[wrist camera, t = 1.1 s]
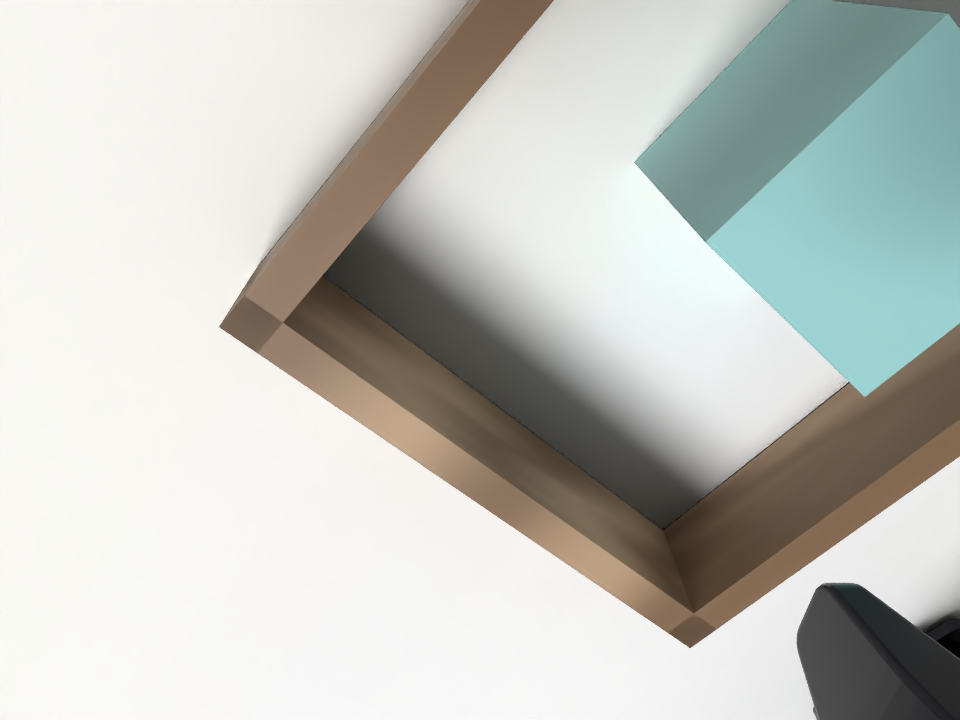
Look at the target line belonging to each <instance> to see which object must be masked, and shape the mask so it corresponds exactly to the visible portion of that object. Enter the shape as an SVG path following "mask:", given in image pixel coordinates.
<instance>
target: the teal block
mask: <svg viewBox="0 0 960 720" xmlns="http://www.w3.org/2000/svg"><path fill="white" fill-rule="evenodd" d="M634 163H635V164H636V165H637V166H638V167H639V168H640V169H641V171H642V172H643V173H644V174H645V175H646V176H647V177H648V178H649V180H650V181H651V182H652V183H653V184H654V185H655V186H656V187H657V189H658V190H659V191H660V192H661V193H662V194H663V195H664V196H665V197H666V199H667V200H668V201H669V202H670V203H671V204H672V205H673V206H674V208H675V209H676V210H677V211H678V212H679V213H680V214H681V215H682V217H683V218H684V219H685V220H686V221H687V222H688V223H689V224H690V225H691V227H692V228H693V229H694V230H695V231H696V232H697V233H698V234H699V236H700V237H701V238H702V239H703V240H704V241H705V242H706V243H707V244H708V245H709V246H710V247H711V248H712V249H713V250H714V251H715V252H716V253H717V254H718V255H719V256H720V257H721V258H722V259H723V260H724V261H725V262H726V263H727V264H728V265H729V266H730V267H731V268H732V269H734V270H735V271H736V272H737V273H738V274H739V275H740V276H741V277H742V278H743V279H744V280H745V281H746V282H747V283H748V284H749V285H750V286H751V287H752V288H753V289H754V290H755V291H756V292H757V293H758V294H759V295H760V296H761V297H762V298H763V299H764V300H765V301H766V302H767V303H768V304H770V305H771V306H772V307H773V308H774V309H775V310H776V311H777V312H778V313H779V314H780V315H781V316H782V317H783V318H784V319H785V320H786V321H787V322H788V323H789V324H790V325H791V326H792V327H793V328H794V329H795V330H796V331H797V332H798V333H799V334H800V335H801V336H802V337H803V338H804V339H806V340H807V341H808V342H809V343H810V344H811V345H812V346H813V347H814V348H815V349H816V350H817V351H818V352H819V353H820V354H821V355H822V356H823V357H824V358H825V359H826V360H827V361H828V362H829V363H830V364H831V365H832V366H833V367H834V368H835V369H836V370H837V371H838V372H839V373H841V374H842V375H843V376H844V377H845V378H846V379H847V380H848V381H849V382H850V383H851V384H852V385H853V386H854V387H855V388H856V389H857V390H858V391H859V392H860V393H861V394H862V395H863V396H864V397H865V396H867V395H868V394H869V393H871V392H872V391H873V390H874V389H876V388H877V387H878V386H880V385H881V384H882V383H883V382H885V381H886V380H887V379H889V378H890V377H891V376H892V375H894V374H895V373H896V372H898V371H899V370H900V369H901V368H903V367H904V366H905V365H907V364H908V363H909V362H910V361H912V360H913V359H914V358H916V357H917V356H918V355H919V354H921V353H922V352H923V351H925V350H926V349H927V348H928V347H930V346H931V345H932V344H934V343H935V342H936V341H937V340H939V339H940V338H941V337H943V336H944V335H945V334H946V333H948V332H949V331H950V330H952V329H953V328H954V327H955V326H957V325H958V324H959V323H960V28H959V27H958V26H957V24H956V23H955V21H954V20H953V19H952V17H951V16H950V15H949V13H942V12H933V11H924V10H915V9H906V8H897V7H888V6H879V5H869V4H860V3H851V2H842V1H833V0H791V1H790V2H789V3H788V4H787V6H786V7H785V8H784V9H783V10H782V11H781V12H780V13H779V14H778V15H777V16H776V17H775V18H774V19H773V20H772V21H771V22H770V23H769V24H768V25H767V26H766V27H765V28H764V29H763V30H762V31H761V32H760V33H759V34H758V35H757V36H756V38H755V39H754V40H753V41H752V42H751V43H750V44H749V45H748V46H747V47H746V48H745V49H744V50H743V51H742V52H741V53H740V54H739V55H738V56H737V57H736V58H735V59H734V60H733V61H732V62H731V63H730V64H729V65H728V66H727V67H726V68H725V69H724V71H723V72H722V73H721V74H720V75H719V76H718V77H717V78H716V79H715V80H714V81H713V82H712V83H711V84H710V85H709V86H708V87H707V88H706V89H705V90H704V91H703V92H702V93H701V94H700V95H699V96H698V97H697V98H696V99H695V100H694V101H693V103H692V104H691V105H690V106H689V107H688V108H687V109H686V110H685V111H684V112H683V113H682V114H681V115H680V116H679V117H678V118H677V119H676V120H675V121H674V122H673V123H672V124H671V125H670V126H669V127H668V128H667V129H666V130H665V131H664V132H663V133H662V135H661V136H660V137H659V138H658V139H657V140H656V141H655V142H654V143H653V144H652V145H651V146H650V147H649V148H648V149H647V150H646V151H645V152H644V153H643V154H642V155H641V156H640V157H639V158H638V159H637V160H636V161H635V162H634Z"/></svg>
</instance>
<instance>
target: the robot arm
mask: <svg viewBox="0 0 960 720" xmlns="http://www.w3.org/2000/svg"><path fill="white" fill-rule="evenodd" d="M797 649H798V654H799V657H800V660H801V664H802V667H803V670H804V674H805V677H806V680H807V683H808V687H809V690H810V693H811V697H812V700H813V703H814V708H813V712H814V714H815V716H816V718H817V720H960V619H952V620H949V621H947V622H945V623H943V624H941V625H940V626H938V627H937V628H935V629H934V630H932V631H930V632H929V633H927V634H925V633H924V632H923V631H921V630H920V629H919V628H917V627H916V626H915V625H913V624H912V623H911V622H909V621H908V620H907V619H905V618H904V617H903V616H901V615H900V614H899V613H897V612H896V611H895V610H893V609H892V608H891V607H889V606H888V605H887V604H885V603H884V602H883V601H881V600H880V599H879V598H877V597H876V596H874V595H873V594H872V593H870V592H869V591H868V590H866V589H865V588H863V587H862V586H860V585H858V584H854V583H824V584H822V585H820V586H819V587H818V588H817V589H816V591H815V593H814V595H813V597H812V599H811V602H810V604H809V606H808V608H807V611H806V613H805V615H804V617H803V620H802V622H801V624H800V626H799V629H798V633H797Z"/></svg>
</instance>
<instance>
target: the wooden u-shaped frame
mask: <svg viewBox="0 0 960 720" xmlns="http://www.w3.org/2000/svg"><path fill="white" fill-rule="evenodd" d="M553 1H554V0H469V2H468V3H467V4H466V5H465V7H464V8H463V9H462V10H461V12H460V13H459V14H458V15H457V17H456V18H455V19H454V20H453V22H452V23H451V24H450V25H449V27H448V28H447V29H446V31H445V32H444V33H443V34H442V36H441V37H440V38H439V39H438V41H437V42H436V43H435V44H434V46H433V47H432V48H431V49H430V51H429V52H428V53H427V54H426V56H425V57H424V58H423V59H422V61H421V62H420V63H419V64H418V66H417V67H416V68H415V69H414V71H413V72H412V73H411V75H410V76H409V77H408V78H407V80H406V81H405V82H404V83H403V85H402V86H401V87H400V88H399V90H398V91H397V92H396V93H395V95H394V96H393V97H392V98H391V100H390V101H389V102H388V103H387V105H386V106H385V107H384V108H383V110H382V111H381V112H380V114H379V115H378V116H377V117H376V119H375V120H374V121H373V122H372V124H371V125H370V126H369V127H368V129H367V130H366V131H365V132H364V134H363V135H362V136H361V137H360V139H359V140H358V141H357V142H356V144H355V145H354V146H353V147H352V149H351V150H350V151H349V153H348V154H347V155H346V156H345V158H344V159H343V160H342V161H341V163H340V164H339V165H338V166H337V168H336V169H335V170H334V171H333V173H332V174H331V175H330V176H329V178H328V179H327V180H326V181H325V183H324V184H323V185H322V186H321V188H320V189H319V190H318V192H317V193H316V194H315V195H314V197H313V198H312V199H311V200H310V202H309V203H308V204H307V205H306V207H305V208H304V209H303V210H302V212H301V213H300V214H299V215H298V217H297V218H296V219H295V220H294V222H293V223H292V224H291V225H290V227H289V228H288V229H287V231H286V232H285V233H284V234H283V236H282V237H281V238H280V239H279V241H278V242H277V243H276V244H275V246H274V247H273V248H272V249H271V251H270V252H269V253H268V254H267V256H266V257H265V258H264V259H263V261H262V262H261V263H260V264H259V266H258V267H257V268H256V270H255V271H254V273H253V274H252V276H251V277H250V279H249V281H248V282H247V284H246V285H245V287H244V288H243V290H242V292H241V293H240V295H239V296H238V298H237V300H236V301H235V303H234V304H233V306H232V307H231V309H230V311H229V312H228V314H227V315H226V317H225V318H224V320H223V322H222V323H221V325H220V326H219V327H220V328H222V329H223V330H224V331H226V332H227V333H229V334H230V335H232V336H233V337H235V338H236V339H238V340H239V341H241V342H242V343H244V344H245V345H246V346H248V347H249V348H251V349H252V350H254V351H255V352H257V353H258V354H260V355H261V356H263V357H264V358H266V359H267V360H268V361H270V362H271V363H273V364H274V365H276V366H277V367H279V368H280V369H282V370H283V371H285V372H286V373H288V374H289V375H290V376H292V377H293V378H295V379H296V380H298V381H299V382H301V383H302V384H304V385H305V386H307V387H308V388H310V389H311V390H312V391H314V392H315V393H317V394H318V395H320V396H321V397H323V398H324V399H326V400H327V401H329V402H330V403H332V404H333V405H334V406H336V407H337V408H339V409H340V410H342V411H343V412H345V413H346V414H348V415H349V416H351V417H352V418H354V419H355V420H356V421H358V422H359V423H361V424H362V425H364V426H365V427H367V428H368V429H370V430H371V431H373V432H374V433H376V434H377V435H378V436H380V437H381V438H383V439H384V440H386V441H387V442H389V443H390V444H392V445H393V446H395V447H396V448H398V449H399V450H400V451H402V452H403V453H405V454H406V455H408V456H409V457H411V458H412V459H414V460H415V461H417V462H418V463H420V464H421V465H422V466H424V467H425V468H427V469H428V470H430V471H431V472H433V473H434V474H436V475H437V476H439V477H440V478H442V479H443V480H445V481H446V482H447V483H449V484H450V485H452V486H453V487H455V488H456V489H458V490H459V491H461V492H462V493H464V494H465V495H467V496H468V497H469V498H471V499H472V500H474V501H475V502H477V503H478V504H480V505H481V506H483V507H484V508H486V509H487V510H489V511H490V512H491V513H493V514H494V515H496V516H497V517H499V518H500V519H502V520H503V521H505V522H506V523H508V524H509V525H511V526H512V527H513V528H515V529H516V530H518V531H519V532H521V533H522V534H524V535H525V536H527V537H528V538H530V539H531V540H533V541H534V542H535V543H537V544H538V545H540V546H541V547H543V548H544V549H546V550H547V551H549V552H550V553H552V554H553V555H555V556H556V557H557V558H559V559H560V560H562V561H563V562H565V563H566V564H568V565H569V566H571V567H572V568H574V569H575V570H577V571H578V572H579V573H581V574H582V575H584V576H585V577H587V578H588V579H590V580H591V581H593V582H594V583H596V584H597V585H599V586H600V587H601V588H603V589H604V590H606V591H607V592H609V593H610V594H612V595H613V596H615V597H616V598H618V599H619V600H621V601H622V602H623V603H625V604H626V605H628V606H629V607H631V608H632V609H634V610H635V611H637V612H638V613H640V614H641V615H643V616H644V617H645V618H647V619H648V620H650V621H651V622H653V623H654V624H656V625H657V626H659V627H660V628H662V629H663V630H665V631H666V632H667V633H669V634H670V635H672V636H673V637H675V638H676V639H678V640H679V641H681V642H682V643H684V644H685V645H687V646H688V647H689V648H691V647H692V646H694V645H695V644H697V643H698V642H699V641H701V640H702V639H704V638H705V637H706V636H708V635H709V634H711V633H712V632H713V631H715V630H716V629H718V628H719V627H720V626H722V625H723V624H725V623H726V622H727V621H729V620H730V619H732V618H733V617H735V616H736V615H737V614H739V613H740V612H742V611H743V610H744V609H746V608H747V607H749V606H750V605H751V604H753V603H754V602H756V601H757V600H758V599H760V598H761V597H763V596H764V595H765V594H767V593H768V592H770V591H771V590H772V589H774V588H775V587H777V586H778V585H779V584H781V583H782V582H784V581H785V580H787V579H788V578H789V577H791V576H792V575H794V574H795V573H796V572H798V571H799V570H801V569H802V568H803V567H805V566H806V565H808V564H809V563H810V562H812V561H813V560H815V559H816V558H817V557H819V556H820V555H822V554H823V553H824V552H826V551H827V550H829V549H830V548H831V547H833V546H834V545H836V544H837V543H839V542H840V541H841V540H843V539H844V538H846V537H847V536H848V535H850V534H851V533H853V532H854V531H855V530H857V529H858V528H860V527H861V526H862V525H864V524H865V523H867V522H868V521H869V520H871V519H872V518H874V517H875V516H876V515H878V514H879V513H881V512H882V511H883V510H885V509H886V508H888V507H889V506H890V505H892V504H893V503H895V502H896V501H898V500H899V499H900V498H902V497H903V496H905V495H906V494H907V493H909V492H910V491H912V490H913V489H914V488H916V487H917V486H919V485H920V484H921V483H923V482H924V481H926V480H927V479H928V478H930V477H931V476H933V475H934V474H935V473H937V472H938V471H940V470H941V469H942V468H944V467H945V466H947V465H948V464H950V463H951V462H952V461H954V460H955V459H957V458H958V457H959V456H960V323H959V324H958V325H957V326H955V327H954V328H953V329H952V330H950V331H949V332H948V333H946V334H945V335H944V336H943V337H941V338H940V339H939V340H937V341H936V342H935V343H934V344H932V345H931V346H930V347H928V348H927V349H926V350H925V351H923V352H922V353H921V354H919V355H918V356H917V357H916V358H914V359H913V360H912V361H910V362H909V363H908V364H907V365H905V366H904V367H903V368H901V369H900V370H899V371H898V372H896V373H895V374H894V375H892V376H891V377H890V378H889V379H887V380H886V381H885V382H883V383H882V384H881V385H880V386H878V387H877V388H876V389H874V390H873V391H872V392H871V393H869V394H868V395H867V396H865V397H864V396H863V395H862V394H861V393H860V392H859V391H858V390H857V389H856V388H855V387H854V386H853V385H852V384H851V383H849V384H847V385H846V386H845V387H844V388H842V389H841V390H840V391H839V392H837V393H836V394H835V395H834V396H832V397H831V398H830V399H828V400H827V401H826V402H825V403H823V404H822V405H821V406H820V407H818V408H817V409H816V410H815V411H813V412H812V413H811V414H810V415H808V416H807V417H806V418H805V419H803V420H802V421H801V422H799V423H798V424H797V425H796V426H794V427H793V428H792V429H791V430H789V431H788V432H787V433H786V434H784V435H783V436H782V437H781V438H779V439H778V440H777V441H776V442H774V443H773V444H772V445H770V446H769V447H768V448H767V449H765V450H764V451H763V452H762V453H760V454H759V455H758V456H757V457H755V458H754V459H753V460H752V461H750V462H749V463H748V464H747V465H745V466H744V467H743V468H742V469H740V470H739V471H738V472H736V473H735V474H734V475H733V476H731V477H730V478H729V479H728V480H726V481H725V482H724V483H723V484H721V485H720V486H719V487H718V488H716V489H715V490H714V491H713V492H711V493H710V494H709V495H707V496H706V497H705V498H704V499H702V500H701V501H700V502H699V503H697V504H696V505H695V506H694V507H692V508H691V509H690V510H689V511H687V512H686V513H685V514H684V515H682V516H681V517H680V518H679V519H677V520H676V521H675V522H673V523H672V524H671V525H670V526H668V527H667V528H666V529H665V530H662V529H661V528H659V527H658V526H657V525H655V524H654V523H653V522H651V521H650V520H649V519H647V518H646V517H645V516H643V515H642V514H641V513H639V512H638V511H637V510H635V509H634V508H633V507H631V506H630V505H629V504H627V503H626V502H625V501H623V500H622V499H621V498H619V497H618V496H617V495H615V494H614V493H613V492H611V491H610V490H609V489H607V488H606V487H605V486H603V485H602V484H601V483H599V482H598V481H597V480H595V479H594V478H593V477H591V476H590V475H589V474H587V473H586V472H585V471H583V470H582V469H581V468H579V467H578V466H577V465H575V464H574V463H573V462H571V461H570V460H568V459H567V458H566V457H564V456H563V455H562V454H560V453H559V452H558V451H556V450H555V449H554V448H552V447H551V446H550V445H548V444H547V443H546V442H544V441H543V440H542V439H540V438H539V437H538V436H536V435H535V434H534V433H532V432H531V431H530V430H528V429H527V428H526V427H524V426H523V425H522V424H520V423H519V422H518V421H516V420H515V419H514V418H512V417H511V416H510V415H508V414H507V413H506V412H504V411H503V410H502V409H500V408H499V407H498V406H496V405H495V404H494V403H492V402H491V401H490V400H488V399H487V398H486V397H484V396H483V395H482V394H480V393H479V392H478V391H476V390H475V389H474V388H472V387H471V386H470V385H468V384H467V383H466V382H464V381H463V380H462V379H460V378H459V377H458V376H456V375H455V374H454V373H452V372H451V371H450V370H448V369H447V368H446V367H444V366H443V365H442V364H440V363H439V362H438V361H436V360H435V359H434V358H432V357H431V356H430V355H428V354H427V353H426V352H424V351H423V350H422V349H420V348H419V347H418V346H416V345H415V344H414V343H412V342H411V341H410V340H408V339H407V338H406V337H404V336H403V335H402V334H400V333H399V332H398V331H396V330H395V329H394V328H392V327H391V326H390V325H388V324H387V323H386V322H384V321H383V320H382V319H380V318H379V317H378V316H376V315H375V314H374V313H372V312H371V311H370V310H368V309H367V308H365V307H364V306H363V305H361V304H360V303H359V302H357V301H356V300H355V299H353V298H352V297H351V296H349V295H348V294H347V293H345V292H344V291H343V290H341V289H340V288H339V287H337V286H336V285H335V284H333V283H332V282H331V281H329V280H328V279H327V278H325V277H324V276H323V274H324V273H325V272H326V271H327V269H328V268H329V267H330V266H331V265H332V264H333V262H334V261H335V260H336V259H337V258H338V256H339V255H340V254H341V253H342V252H343V250H344V249H345V248H346V247H347V246H348V245H349V243H350V242H351V241H352V240H353V239H354V237H355V236H356V235H357V234H358V233H359V231H360V230H361V229H362V228H363V227H364V225H365V224H366V223H367V222H368V221H369V220H370V218H371V217H372V216H373V215H374V214H375V212H376V211H377V210H378V209H379V208H380V206H381V205H382V204H383V203H384V202H385V200H386V199H387V198H388V197H389V196H390V195H391V193H392V192H393V191H394V190H395V189H396V187H397V186H398V185H399V184H400V183H401V181H402V180H403V179H404V178H405V177H406V176H407V174H408V173H409V172H410V171H411V170H412V168H413V167H414V166H415V165H416V164H417V162H418V161H419V160H420V159H421V158H422V156H423V155H424V154H425V153H426V152H427V151H428V149H429V148H430V147H431V146H432V145H433V143H434V142H435V141H436V140H437V139H438V137H439V136H440V135H441V134H442V133H443V131H444V130H445V129H446V128H447V127H448V126H449V124H450V123H451V122H452V121H453V120H454V118H455V117H456V116H457V115H458V114H459V112H460V111H461V110H462V109H463V108H464V106H465V105H466V104H467V103H468V102H469V101H470V99H471V98H472V97H473V96H474V95H475V93H476V92H477V91H478V90H479V89H480V87H481V86H482V85H483V84H484V83H485V82H486V80H487V79H488V78H489V77H490V76H491V74H492V73H493V72H494V71H495V70H496V68H497V67H498V66H499V65H500V64H501V62H502V61H503V60H504V59H505V58H506V57H507V55H508V54H509V53H510V52H511V51H512V49H513V48H514V47H515V46H516V45H517V43H518V42H519V41H520V40H521V39H522V37H523V36H524V35H525V34H526V33H527V32H528V30H529V29H530V28H531V27H532V26H533V24H534V23H535V22H536V21H537V20H538V18H539V17H540V16H541V15H542V14H543V12H544V11H545V10H546V9H547V8H548V7H549V5H550V4H551V3H552V2H553Z"/></svg>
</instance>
